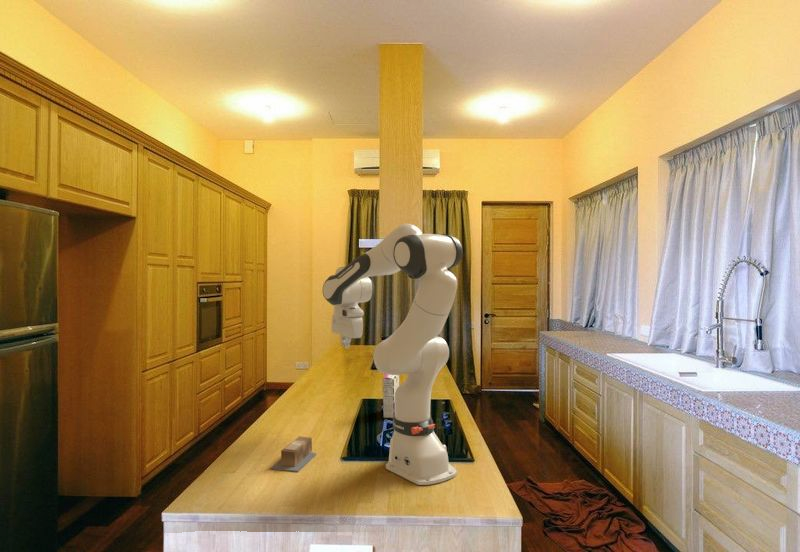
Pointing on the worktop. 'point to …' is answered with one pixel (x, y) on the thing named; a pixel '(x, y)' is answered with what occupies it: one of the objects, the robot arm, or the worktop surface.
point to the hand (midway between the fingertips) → (346, 347)
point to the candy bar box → (389, 395)
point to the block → (296, 451)
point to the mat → (297, 467)
